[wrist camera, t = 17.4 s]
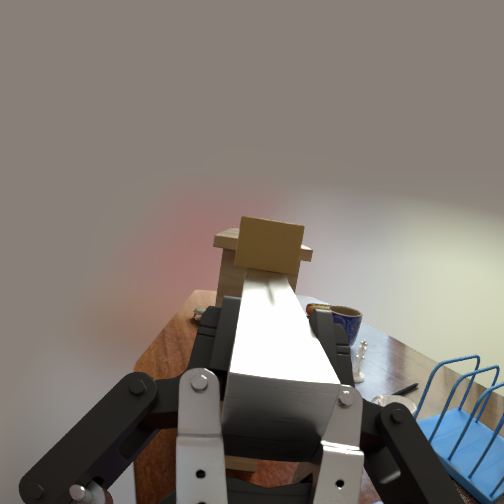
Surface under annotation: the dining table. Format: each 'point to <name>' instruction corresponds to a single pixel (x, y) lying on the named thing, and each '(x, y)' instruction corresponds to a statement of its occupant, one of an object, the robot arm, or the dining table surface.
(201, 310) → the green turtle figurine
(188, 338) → the dining table surface
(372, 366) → the dining table surface
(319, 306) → the hot dog
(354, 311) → the planter
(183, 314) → the dining table surface
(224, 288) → the stand
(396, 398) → the cup
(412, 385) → the pen
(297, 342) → the mallet
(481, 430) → the file sorter
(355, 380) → the chess piece
